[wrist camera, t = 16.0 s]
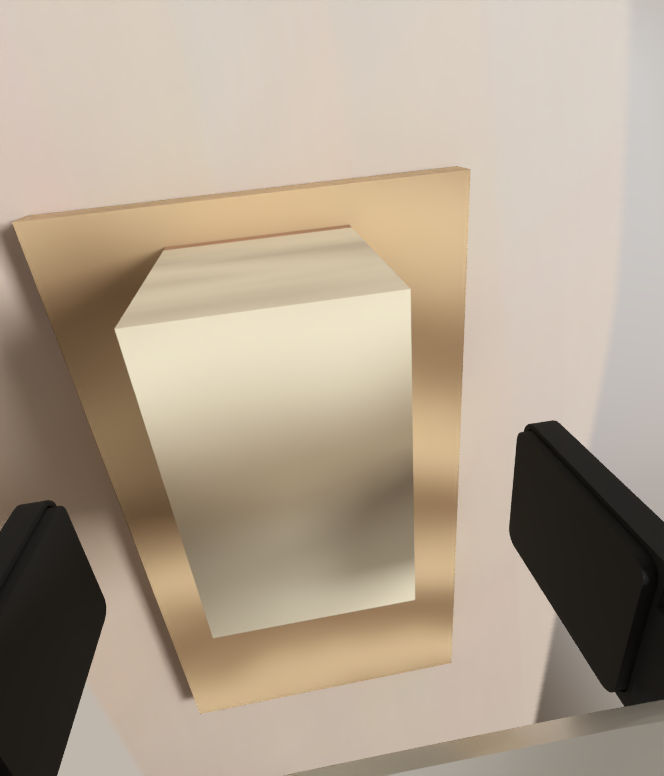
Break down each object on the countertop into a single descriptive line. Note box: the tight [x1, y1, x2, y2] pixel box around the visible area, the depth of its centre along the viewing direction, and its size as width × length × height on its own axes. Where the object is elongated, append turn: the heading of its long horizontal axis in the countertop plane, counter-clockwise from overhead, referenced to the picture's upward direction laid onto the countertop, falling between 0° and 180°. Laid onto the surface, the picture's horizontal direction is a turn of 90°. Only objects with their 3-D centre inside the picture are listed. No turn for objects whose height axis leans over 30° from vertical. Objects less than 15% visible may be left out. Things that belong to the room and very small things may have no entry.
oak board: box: [12, 166, 470, 714], centre depth 19 cm, size 22×12×1 cm, turn 5°
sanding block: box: [115, 225, 415, 638], centre depth 13 cm, size 8×5×6 cm, turn 5°
